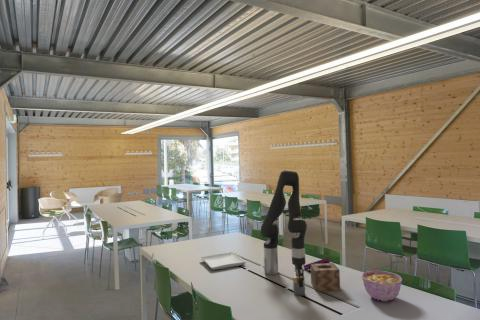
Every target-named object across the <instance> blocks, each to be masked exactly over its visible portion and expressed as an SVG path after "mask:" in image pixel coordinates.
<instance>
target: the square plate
mask: <svg viewBox="0 0 480 320" xmlns="http://www.w3.org/2000/svg"><path fill="white" fill-rule="evenodd" d="M199 258H200V260H201V261H202V262H204V263H205V264H206V265H208V267H210V268H211V269H212V270H213V271H214V270H221V269H227V268H228V269H229V268H233V267H240V266H242V265H245V264H246V263H247V261H246V260H245V259H243V258H241V257H240V256H239V255H237V254H236V253H234V252H224V253H217V254H213V255H212V254H211V255H205V256H201V257H199Z"/></svg>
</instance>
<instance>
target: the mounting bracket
mask: <svg viewBox="0 0 480 320" xmlns="http://www.w3.org/2000/svg"><path fill="white" fill-rule="evenodd" d="M322 263H331V262H330V258H329V257H325V258H321V259H318V260H316V261H313V262H310V263H308V264H305V265H302V268H303V270H304V269H309V268H311V264H322Z"/></svg>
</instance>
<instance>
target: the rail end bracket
mask: <svg viewBox="0 0 480 320" xmlns="http://www.w3.org/2000/svg"><path fill="white" fill-rule="evenodd" d="M300 278H302V276H300ZM298 279H299V278H298V276H296V275H292V284H293V286H292V287H293V295H294V296H296V297H297V296H306V284H305V283H306V281H305V280H306V279H305V276H304V280H303V287H299V280H298Z"/></svg>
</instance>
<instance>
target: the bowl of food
mask: <svg viewBox="0 0 480 320" xmlns="http://www.w3.org/2000/svg"><path fill="white" fill-rule="evenodd" d="M361 278H362V281H363V286H364V288H365V291H366V293H367V294H368V295H369V296H370V297H371V298H372V299H375V300H376V299H377V301H379V300H381V301H380V302H389V301H388V300H390V301H392V300H395V299H396V298H397V297H398V296H399V293H400V290H401V287H402V283H403V278H402V277H401V276H400V275H398V274H397V273H393V272H391V271H387V270H368V271H365V272H363V273H362V274H361Z"/></svg>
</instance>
